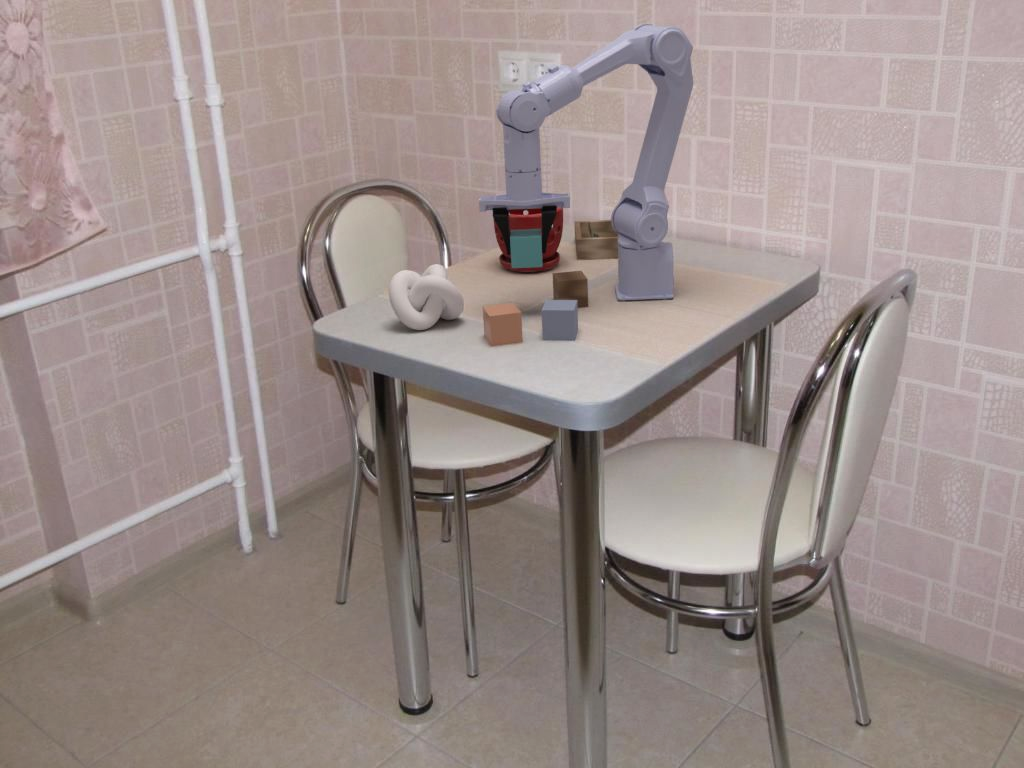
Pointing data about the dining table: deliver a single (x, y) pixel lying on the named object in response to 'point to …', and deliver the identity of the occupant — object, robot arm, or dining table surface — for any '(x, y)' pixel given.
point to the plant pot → (532, 222)
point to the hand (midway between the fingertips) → (526, 252)
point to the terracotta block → (502, 324)
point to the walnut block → (571, 287)
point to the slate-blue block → (560, 320)
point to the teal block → (526, 248)
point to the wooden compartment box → (596, 240)
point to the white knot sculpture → (424, 297)
